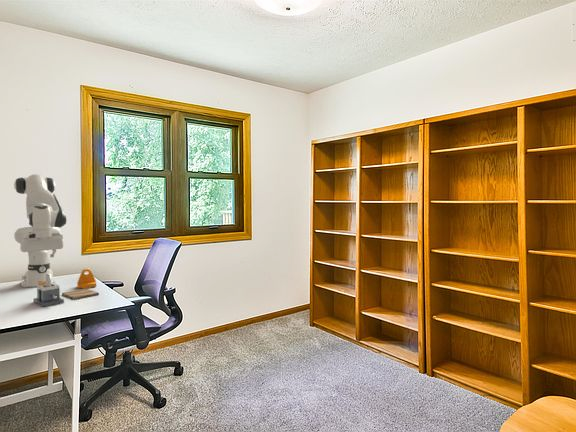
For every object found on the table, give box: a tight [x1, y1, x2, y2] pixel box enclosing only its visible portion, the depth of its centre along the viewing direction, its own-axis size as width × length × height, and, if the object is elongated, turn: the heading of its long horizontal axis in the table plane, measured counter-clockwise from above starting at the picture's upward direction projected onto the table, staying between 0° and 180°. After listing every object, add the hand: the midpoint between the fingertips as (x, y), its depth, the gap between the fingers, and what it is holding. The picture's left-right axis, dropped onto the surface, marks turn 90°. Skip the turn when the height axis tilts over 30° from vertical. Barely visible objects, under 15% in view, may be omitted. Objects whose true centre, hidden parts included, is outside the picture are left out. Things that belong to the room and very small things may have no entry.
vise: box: [32, 274, 65, 308], centre depth 195 cm, size 17×10×16 cm, turn 53°
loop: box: [36, 281, 60, 291], centre depth 198 cm, size 15×8×2 cm, turn 53°
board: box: [61, 288, 100, 301], centre depth 213 cm, size 16×14×1 cm
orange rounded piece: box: [76, 267, 97, 290], centre depth 232 cm, size 11×7×12 cm, turn 121°
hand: (42, 258), depth 201 cm, fingers open, 8 cm apart
